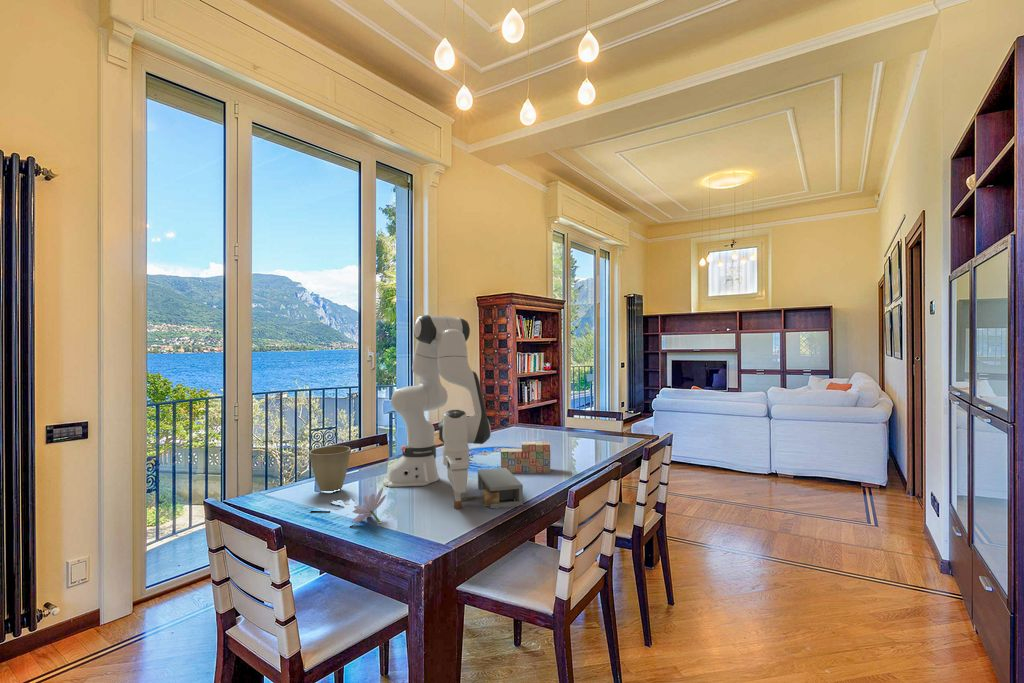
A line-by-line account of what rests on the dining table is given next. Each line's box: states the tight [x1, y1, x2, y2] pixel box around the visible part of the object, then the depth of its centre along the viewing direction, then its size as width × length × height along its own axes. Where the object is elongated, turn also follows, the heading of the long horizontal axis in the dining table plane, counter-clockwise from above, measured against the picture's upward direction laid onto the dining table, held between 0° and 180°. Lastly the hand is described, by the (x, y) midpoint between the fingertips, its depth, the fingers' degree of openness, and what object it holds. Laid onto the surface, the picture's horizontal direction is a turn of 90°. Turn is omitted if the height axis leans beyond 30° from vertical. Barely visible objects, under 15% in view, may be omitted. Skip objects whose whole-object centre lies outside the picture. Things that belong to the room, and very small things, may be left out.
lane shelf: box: [477, 467, 524, 509], centre depth 185 cm, size 11×25×7 cm, turn 14°
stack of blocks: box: [500, 440, 551, 474], centre depth 220 cm, size 21×6×12 cm, turn 87°
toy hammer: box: [453, 489, 500, 510], centre depth 175 cm, size 15×5×7 cm, turn 107°
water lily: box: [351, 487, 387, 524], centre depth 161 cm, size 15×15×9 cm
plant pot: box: [309, 445, 351, 491], centre depth 196 cm, size 15×15×16 cm
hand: (456, 498), depth 173 cm, fingers closed on toy hammer, 3 cm apart
